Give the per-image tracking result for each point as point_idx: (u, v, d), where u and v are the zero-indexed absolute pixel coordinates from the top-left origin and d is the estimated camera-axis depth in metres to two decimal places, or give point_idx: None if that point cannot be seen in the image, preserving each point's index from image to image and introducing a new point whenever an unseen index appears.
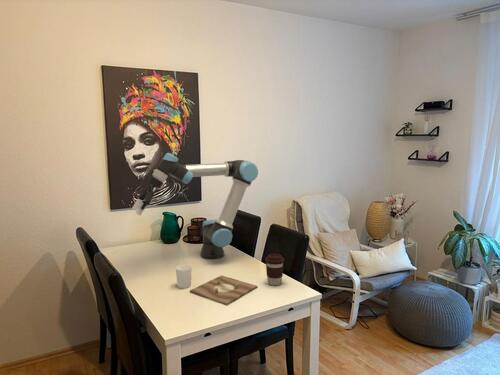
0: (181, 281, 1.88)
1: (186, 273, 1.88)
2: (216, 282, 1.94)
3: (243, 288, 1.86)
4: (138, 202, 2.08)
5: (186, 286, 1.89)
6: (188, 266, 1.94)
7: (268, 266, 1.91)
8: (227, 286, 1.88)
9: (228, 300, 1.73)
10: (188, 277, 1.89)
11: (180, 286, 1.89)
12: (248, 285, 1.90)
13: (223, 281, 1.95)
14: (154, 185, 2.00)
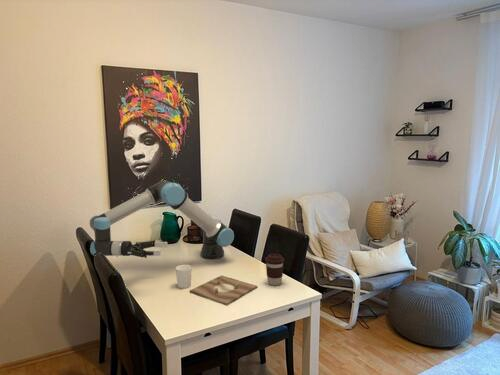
0: (181, 281, 1.88)
1: (186, 273, 1.88)
2: (216, 282, 1.94)
3: (243, 288, 1.86)
4: (158, 245, 1.96)
5: (186, 286, 1.89)
6: (188, 266, 1.94)
7: (268, 266, 1.91)
8: (227, 286, 1.88)
9: (228, 300, 1.73)
10: (188, 277, 1.89)
11: (180, 286, 1.89)
12: (248, 285, 1.90)
13: (223, 281, 1.95)
14: (127, 251, 1.86)
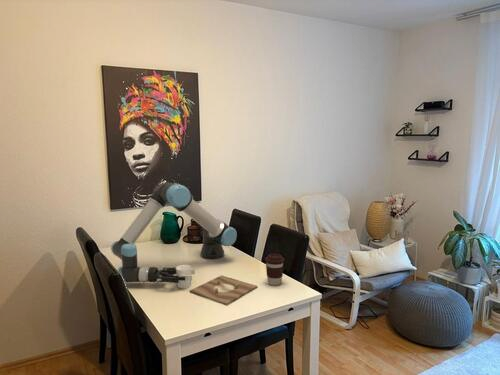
0: (181, 281, 1.88)
1: (186, 273, 1.88)
2: (216, 282, 1.94)
3: (243, 288, 1.86)
4: None
5: (186, 286, 1.89)
6: (188, 266, 1.94)
7: (268, 266, 1.91)
8: (227, 286, 1.88)
9: (228, 300, 1.73)
10: None
11: (180, 286, 1.89)
12: (248, 285, 1.90)
13: (223, 281, 1.95)
14: (154, 278, 1.88)
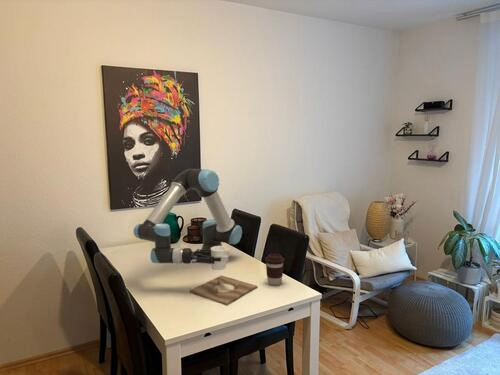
0: (216, 262, 1.81)
1: (222, 254, 1.80)
2: (216, 282, 1.94)
3: (243, 288, 1.86)
4: None
5: (221, 268, 1.82)
6: (223, 247, 1.86)
7: (268, 266, 1.91)
8: (227, 286, 1.88)
9: (228, 300, 1.73)
10: None
11: (215, 268, 1.82)
12: (248, 285, 1.90)
13: (223, 281, 1.95)
14: (189, 259, 1.81)
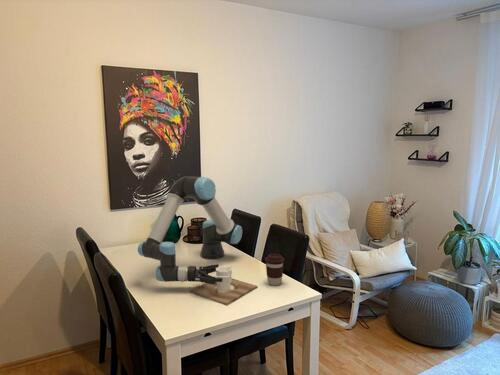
0: (221, 283, 1.83)
1: (227, 275, 1.82)
2: (216, 282, 1.94)
3: (243, 288, 1.86)
4: None
5: (226, 288, 1.84)
6: (227, 267, 1.88)
7: (268, 266, 1.91)
8: None
9: (228, 300, 1.73)
10: (229, 279, 1.83)
11: (220, 288, 1.83)
12: (248, 285, 1.90)
13: None
14: (194, 277, 1.82)
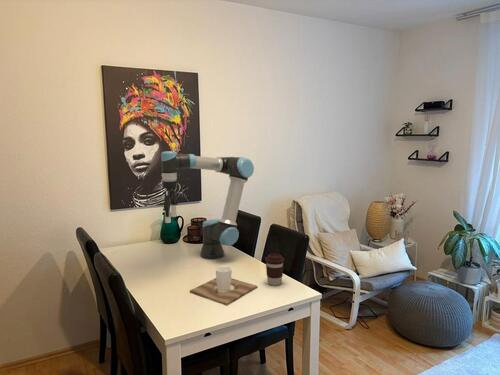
0: (221, 283, 1.83)
1: (227, 275, 1.82)
2: (216, 282, 1.94)
3: (243, 288, 1.86)
4: (173, 208, 2.07)
5: (226, 288, 1.84)
6: (227, 267, 1.88)
7: (268, 266, 1.91)
8: None
9: (228, 300, 1.73)
10: (228, 279, 1.83)
11: (220, 288, 1.83)
12: (248, 285, 1.90)
13: None
14: (167, 189, 1.95)
